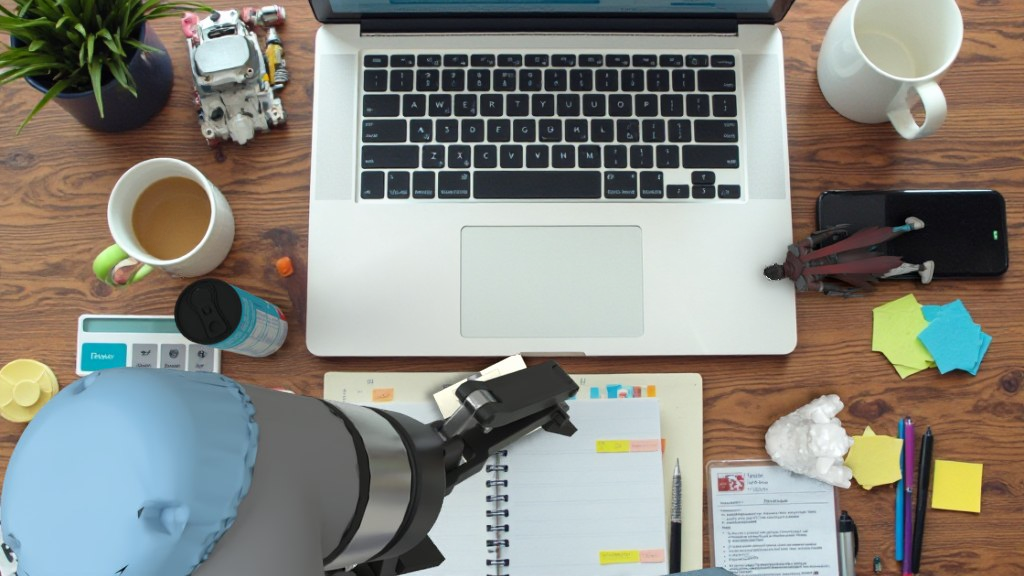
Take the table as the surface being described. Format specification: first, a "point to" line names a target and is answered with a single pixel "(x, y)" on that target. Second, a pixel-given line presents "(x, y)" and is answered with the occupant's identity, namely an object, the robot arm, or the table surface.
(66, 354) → the table surface
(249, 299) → the beverage can
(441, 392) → the white c-shaped piece
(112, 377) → the robot arm
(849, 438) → the sitting furry creature
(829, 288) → the action figure
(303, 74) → the table surface
